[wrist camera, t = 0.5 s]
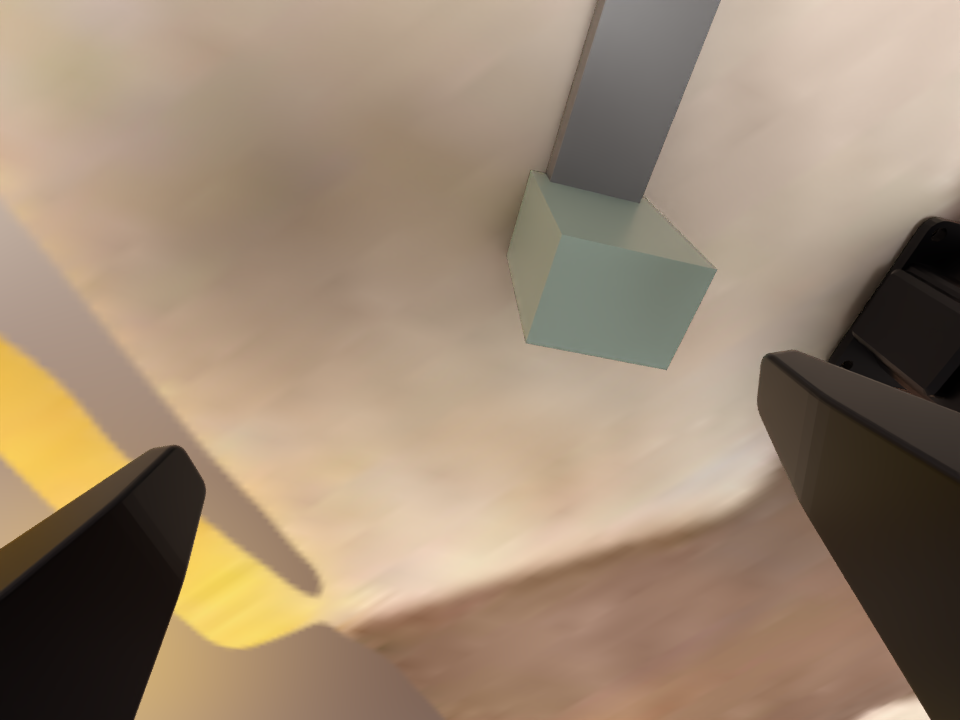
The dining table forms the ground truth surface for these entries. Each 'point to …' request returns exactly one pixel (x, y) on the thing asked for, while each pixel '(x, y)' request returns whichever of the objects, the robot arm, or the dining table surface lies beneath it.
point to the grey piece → (613, 196)
